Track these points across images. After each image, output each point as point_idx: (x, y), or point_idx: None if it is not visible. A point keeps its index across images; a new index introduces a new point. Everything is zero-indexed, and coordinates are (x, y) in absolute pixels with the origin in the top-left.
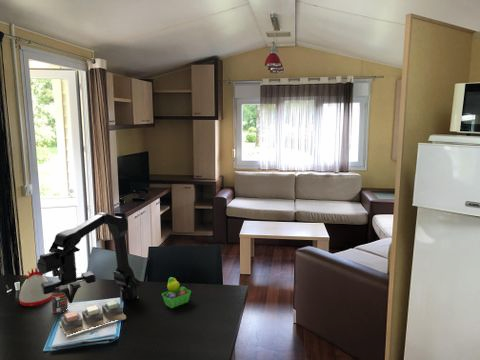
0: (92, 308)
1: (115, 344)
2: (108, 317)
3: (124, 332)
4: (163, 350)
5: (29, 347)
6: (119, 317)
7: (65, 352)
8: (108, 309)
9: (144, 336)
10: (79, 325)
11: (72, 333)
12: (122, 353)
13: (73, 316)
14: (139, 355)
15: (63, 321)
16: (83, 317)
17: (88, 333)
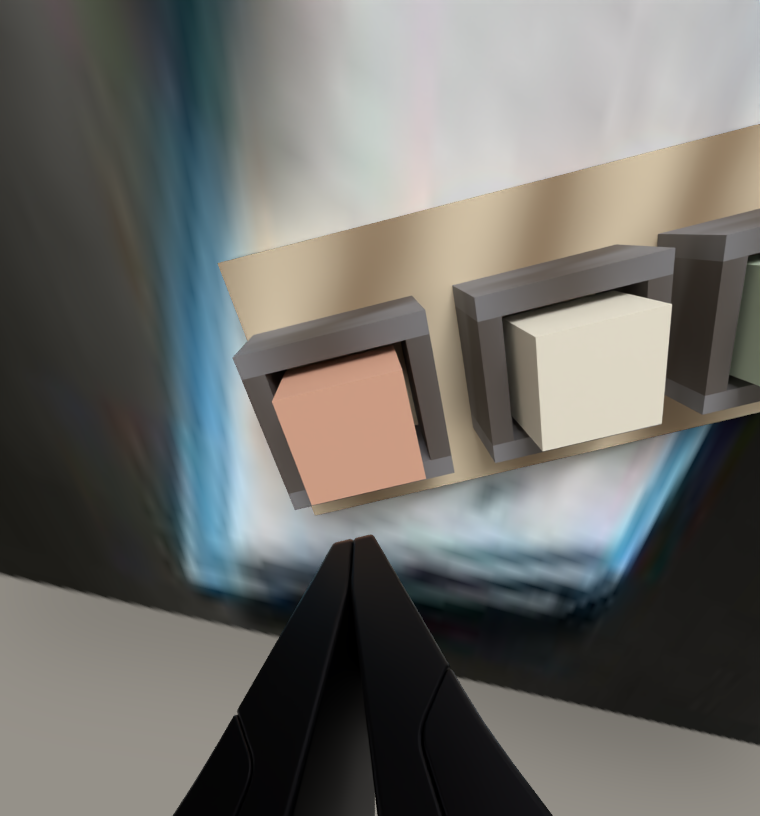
0: (604, 389)
1: (573, 634)
2: None
3: (661, 553)
4: (725, 712)
5: (77, 526)
6: (733, 408)
7: None
8: (736, 361)
9: (726, 615)
10: None
11: (357, 503)
12: (575, 693)
13: (378, 488)
14: (630, 716)
15: (275, 457)
16: (464, 332)
17: (462, 494)
